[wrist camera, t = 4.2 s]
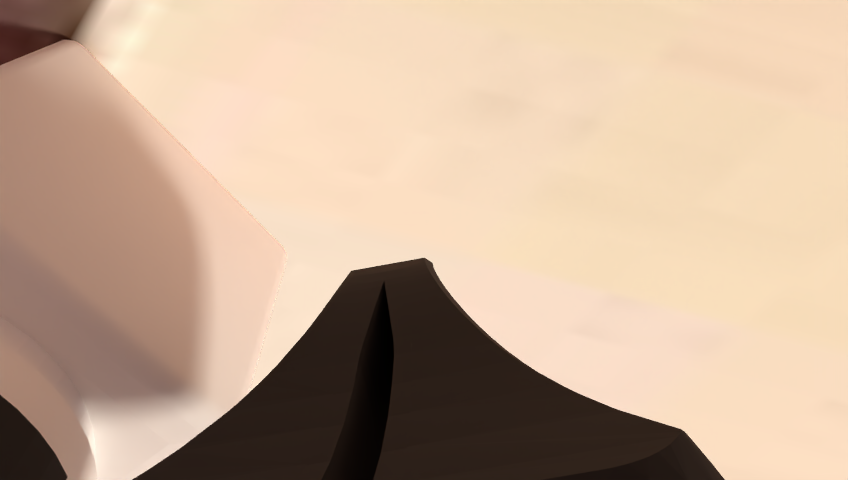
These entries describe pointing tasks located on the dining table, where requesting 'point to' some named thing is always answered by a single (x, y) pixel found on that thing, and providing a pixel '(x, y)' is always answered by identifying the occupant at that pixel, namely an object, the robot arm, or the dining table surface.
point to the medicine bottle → (115, 278)
